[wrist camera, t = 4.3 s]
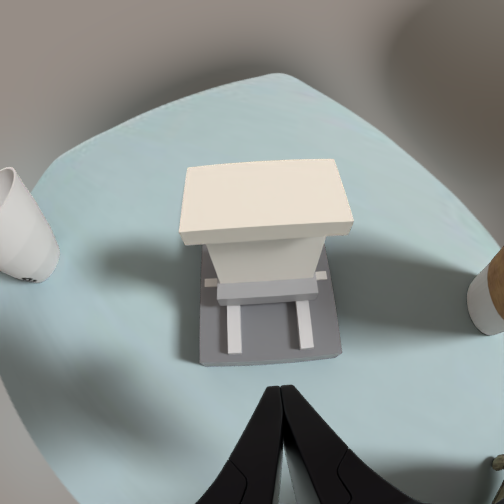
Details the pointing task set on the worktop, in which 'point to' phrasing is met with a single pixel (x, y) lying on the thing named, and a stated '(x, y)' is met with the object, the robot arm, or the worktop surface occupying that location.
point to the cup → (24, 233)
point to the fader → (264, 225)
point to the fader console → (267, 325)
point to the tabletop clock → (499, 464)
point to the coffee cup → (488, 297)
